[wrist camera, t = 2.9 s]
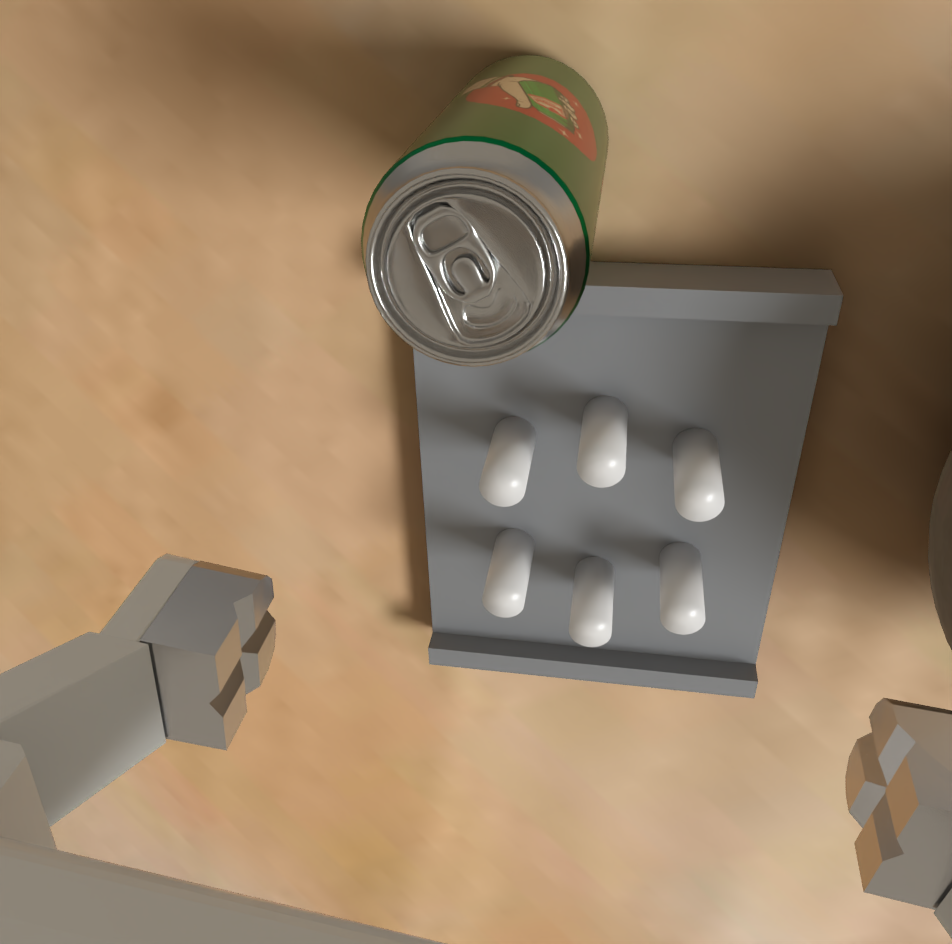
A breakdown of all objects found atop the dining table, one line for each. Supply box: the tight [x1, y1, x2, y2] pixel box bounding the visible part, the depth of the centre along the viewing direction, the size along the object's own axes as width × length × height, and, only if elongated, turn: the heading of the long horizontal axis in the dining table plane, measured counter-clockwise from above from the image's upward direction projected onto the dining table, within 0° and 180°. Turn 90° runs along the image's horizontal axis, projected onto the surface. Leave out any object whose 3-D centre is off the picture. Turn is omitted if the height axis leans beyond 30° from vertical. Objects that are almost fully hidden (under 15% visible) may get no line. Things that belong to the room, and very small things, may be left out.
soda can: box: [361, 55, 608, 367], centre depth 23 cm, size 5×5×12 cm
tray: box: [413, 261, 843, 698], centre depth 33 cm, size 14×18×5 cm
